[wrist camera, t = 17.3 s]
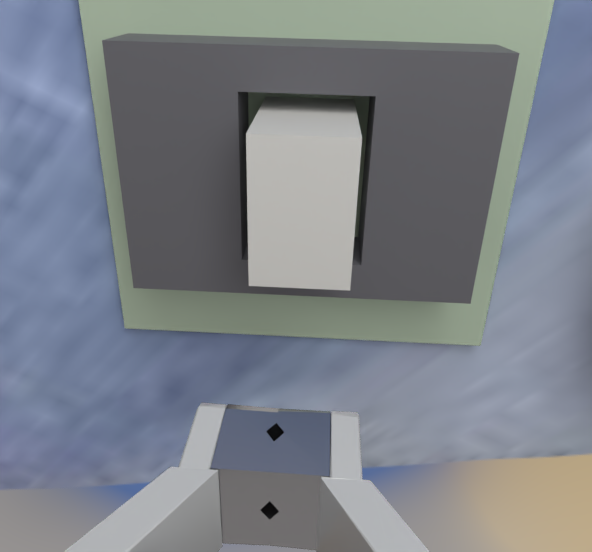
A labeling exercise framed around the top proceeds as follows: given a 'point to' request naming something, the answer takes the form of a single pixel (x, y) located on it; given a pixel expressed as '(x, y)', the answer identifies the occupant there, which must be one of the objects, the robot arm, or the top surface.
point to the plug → (302, 192)
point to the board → (373, 164)
